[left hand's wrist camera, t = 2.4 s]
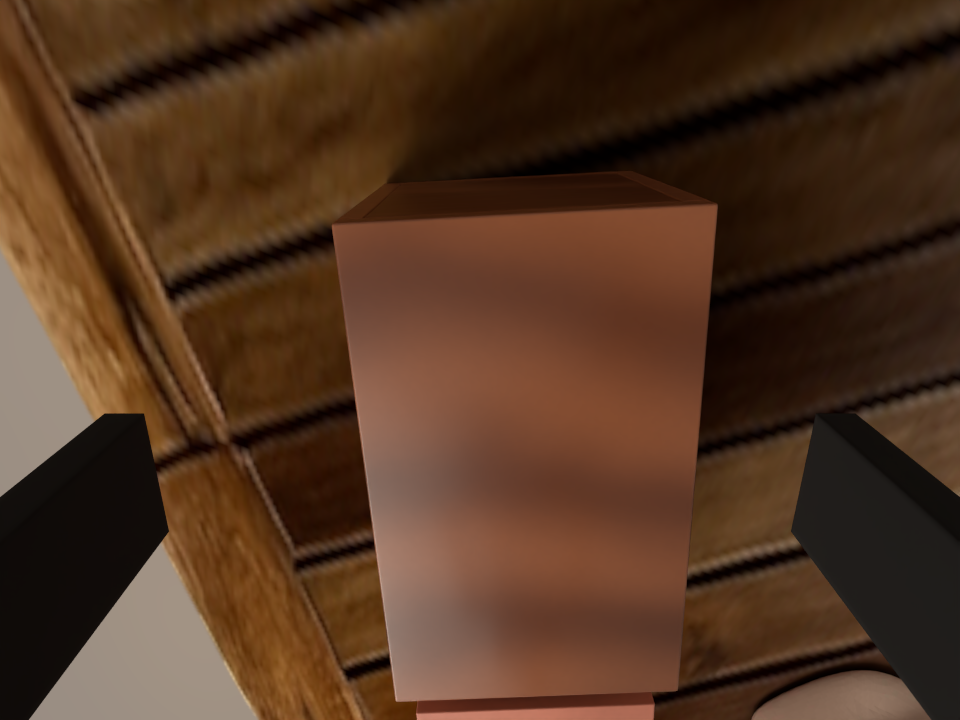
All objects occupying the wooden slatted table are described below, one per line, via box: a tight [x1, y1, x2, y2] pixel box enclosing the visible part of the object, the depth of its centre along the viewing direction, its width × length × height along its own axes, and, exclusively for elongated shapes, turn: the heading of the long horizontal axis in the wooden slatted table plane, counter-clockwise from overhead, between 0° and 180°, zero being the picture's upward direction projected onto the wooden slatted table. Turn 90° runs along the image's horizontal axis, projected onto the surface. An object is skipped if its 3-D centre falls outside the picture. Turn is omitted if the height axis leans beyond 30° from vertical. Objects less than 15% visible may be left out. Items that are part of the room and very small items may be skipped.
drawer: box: [416, 692, 655, 720], centre depth 29 cm, size 23×10×9 cm, turn 3°
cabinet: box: [332, 171, 718, 702], centre depth 27 cm, size 19×11×11 cm, turn 3°
